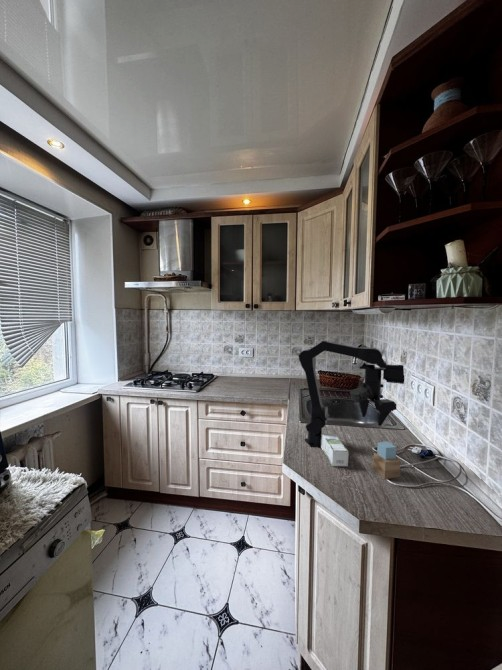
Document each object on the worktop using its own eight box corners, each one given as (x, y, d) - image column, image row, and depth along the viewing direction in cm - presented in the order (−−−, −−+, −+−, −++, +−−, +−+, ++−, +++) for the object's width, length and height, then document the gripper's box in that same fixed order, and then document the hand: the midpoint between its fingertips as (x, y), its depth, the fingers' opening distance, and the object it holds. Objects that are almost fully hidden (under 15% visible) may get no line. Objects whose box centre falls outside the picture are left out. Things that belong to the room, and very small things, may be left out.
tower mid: (373, 461, 91) (373, 453, 91) (387, 460, 92) (387, 451, 92) (384, 470, 85) (385, 461, 85) (399, 469, 86) (400, 460, 86)
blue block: (377, 453, 90) (377, 442, 90) (387, 452, 91) (387, 441, 91) (385, 459, 86) (385, 447, 86) (395, 458, 87) (396, 446, 87)
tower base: (372, 470, 91) (372, 461, 91) (387, 468, 92) (387, 459, 92) (384, 480, 85) (384, 471, 85) (400, 477, 87) (400, 469, 86)
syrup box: (348, 467, 92) (334, 447, 107) (349, 450, 92) (334, 433, 107) (332, 466, 92) (320, 447, 107) (332, 450, 92) (321, 433, 106)
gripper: (340, 376, 107) (339, 414, 108) (370, 387, 89) (368, 432, 90) (364, 375, 110) (363, 412, 111) (398, 386, 92) (396, 430, 92)
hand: (371, 421), depth 101 cm, fingers open, 9 cm apart
